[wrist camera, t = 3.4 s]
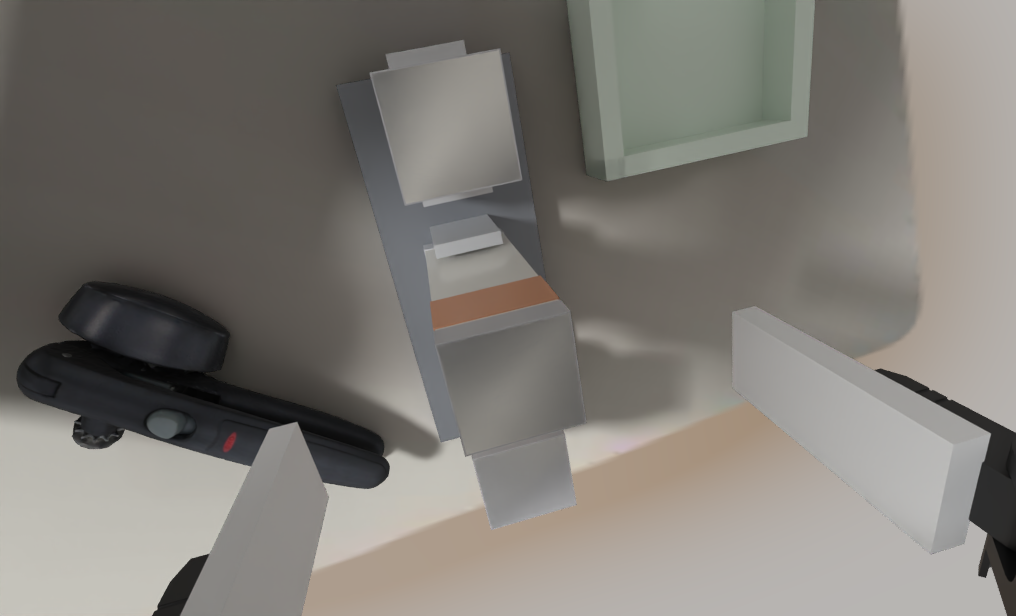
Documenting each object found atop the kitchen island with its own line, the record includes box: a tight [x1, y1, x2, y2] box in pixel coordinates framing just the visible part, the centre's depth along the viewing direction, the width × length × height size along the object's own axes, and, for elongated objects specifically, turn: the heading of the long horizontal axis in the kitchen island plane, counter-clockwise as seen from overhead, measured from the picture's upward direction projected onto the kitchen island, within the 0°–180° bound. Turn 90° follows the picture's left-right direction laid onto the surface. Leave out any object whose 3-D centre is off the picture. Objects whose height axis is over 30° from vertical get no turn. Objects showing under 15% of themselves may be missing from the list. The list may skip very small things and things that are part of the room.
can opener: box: [17, 281, 390, 489], centre depth 25 cm, size 18×7×6 cm, turn 53°
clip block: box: [336, 40, 546, 442], centre depth 25 cm, size 8×21×6 cm, turn 11°
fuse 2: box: [423, 228, 587, 457], centre depth 21 cm, size 4×4×12 cm
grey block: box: [472, 430, 576, 530], centre depth 25 cm, size 4×4×8 cm
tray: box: [566, 0, 815, 181], centre depth 24 cm, size 11×11×3 cm
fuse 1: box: [370, 48, 522, 206], centre depth 19 cm, size 4×4×8 cm
